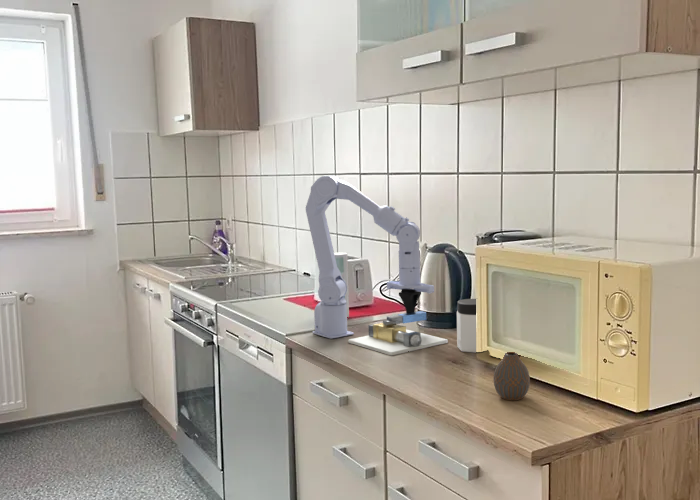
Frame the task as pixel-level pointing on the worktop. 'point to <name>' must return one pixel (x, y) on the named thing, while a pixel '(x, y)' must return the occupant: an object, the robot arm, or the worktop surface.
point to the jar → (466, 325)
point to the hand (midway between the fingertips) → (410, 317)
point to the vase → (511, 377)
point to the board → (396, 344)
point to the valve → (394, 334)
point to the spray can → (343, 273)
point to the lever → (405, 318)
